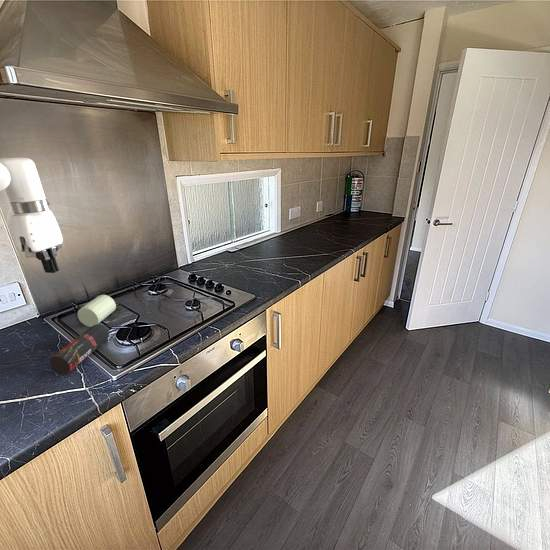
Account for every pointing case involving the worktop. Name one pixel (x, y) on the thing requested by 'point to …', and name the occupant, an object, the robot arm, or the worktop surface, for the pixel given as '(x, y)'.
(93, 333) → the deodorant
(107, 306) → the cup
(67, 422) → the worktop surface
